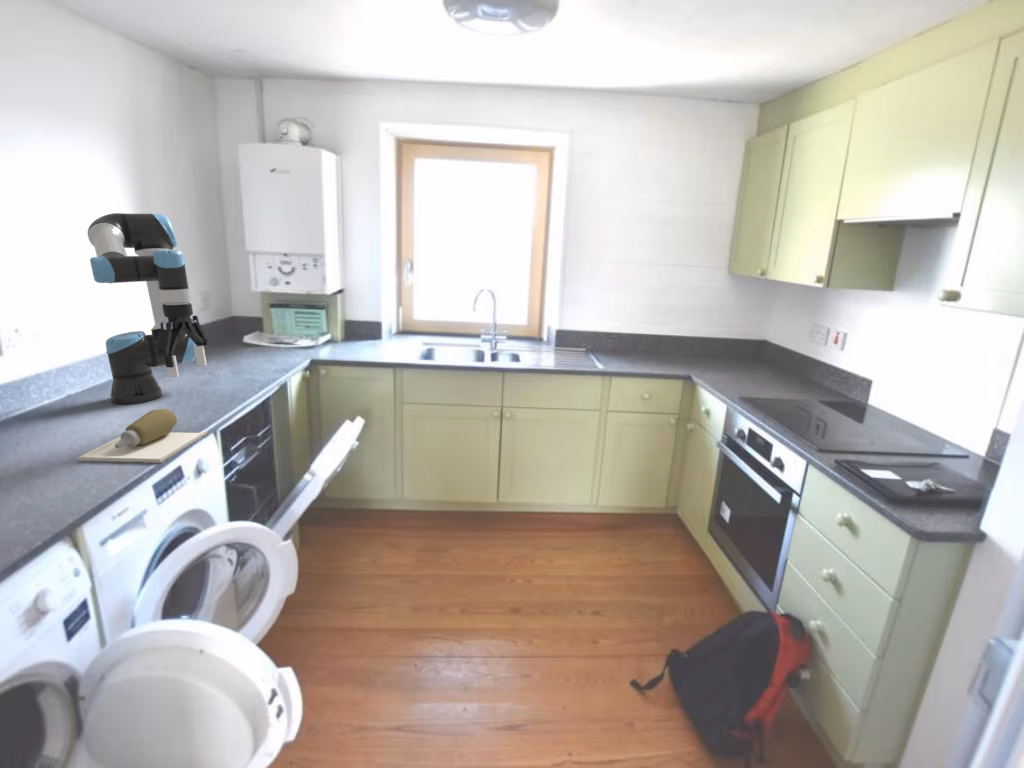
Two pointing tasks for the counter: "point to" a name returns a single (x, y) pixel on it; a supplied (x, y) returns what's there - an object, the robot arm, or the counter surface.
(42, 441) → the counter surface
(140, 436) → the squeeze bottle
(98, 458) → the tray
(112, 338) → the robot arm
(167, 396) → the counter surface
